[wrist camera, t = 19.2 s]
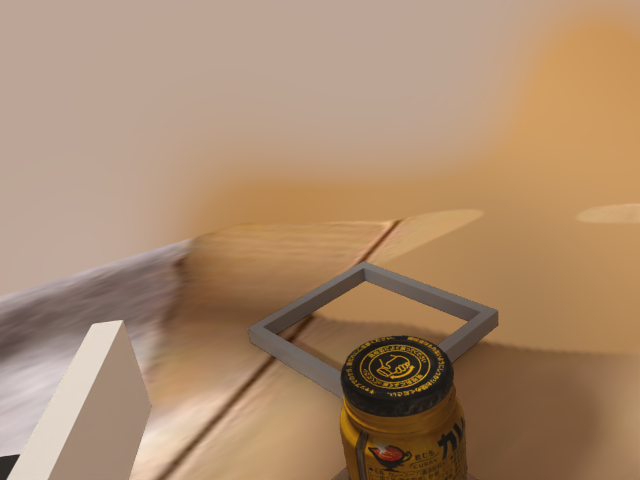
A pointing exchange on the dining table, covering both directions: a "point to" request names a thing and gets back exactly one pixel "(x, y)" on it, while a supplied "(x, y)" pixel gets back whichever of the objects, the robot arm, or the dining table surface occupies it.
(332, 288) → the square collar
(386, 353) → the yellow cylindrical jar
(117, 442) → the robot arm
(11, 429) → the dining table surface
